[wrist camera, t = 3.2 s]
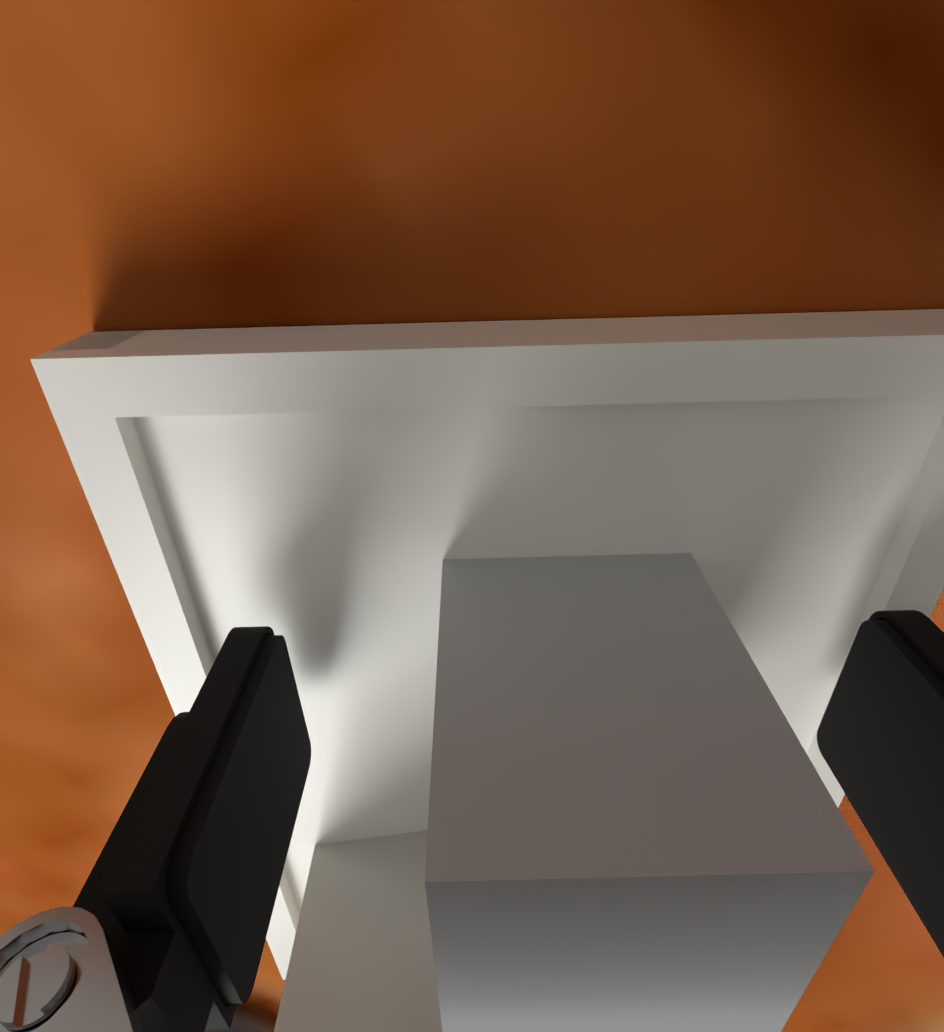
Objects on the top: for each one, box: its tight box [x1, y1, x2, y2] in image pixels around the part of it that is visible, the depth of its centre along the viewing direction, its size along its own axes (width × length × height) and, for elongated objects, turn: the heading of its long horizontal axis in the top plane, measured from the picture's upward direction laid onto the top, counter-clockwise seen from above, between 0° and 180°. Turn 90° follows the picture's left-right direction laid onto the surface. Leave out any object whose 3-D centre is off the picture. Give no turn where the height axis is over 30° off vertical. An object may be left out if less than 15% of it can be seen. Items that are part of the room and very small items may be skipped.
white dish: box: [30, 309, 944, 980], centre depth 12 cm, size 13×17×1 cm
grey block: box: [425, 553, 874, 1032], centre depth 8 cm, size 4×4×5 cm
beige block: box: [274, 830, 443, 1032], centre depth 12 cm, size 4×4×5 cm
